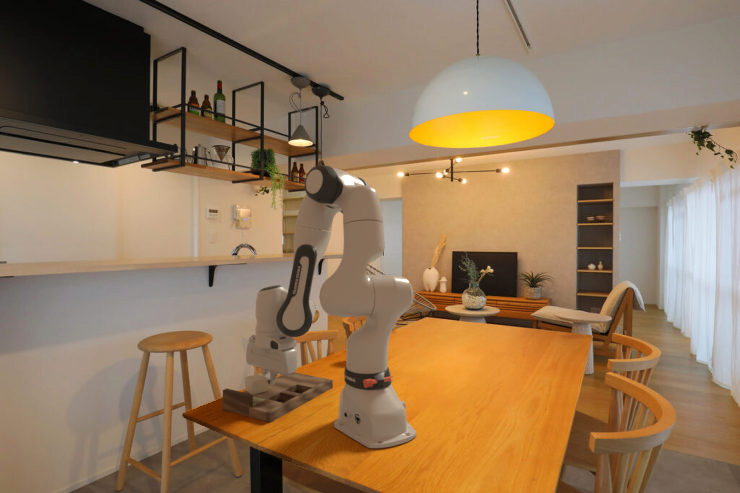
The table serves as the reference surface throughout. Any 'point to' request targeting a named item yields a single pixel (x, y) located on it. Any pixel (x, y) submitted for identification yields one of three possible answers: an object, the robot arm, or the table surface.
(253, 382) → the block
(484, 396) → the table surface
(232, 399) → the wooden compartment tray
